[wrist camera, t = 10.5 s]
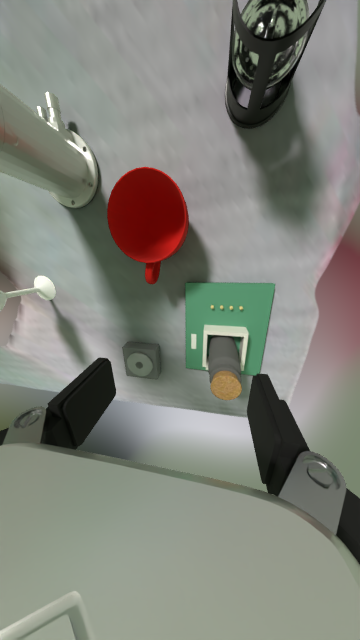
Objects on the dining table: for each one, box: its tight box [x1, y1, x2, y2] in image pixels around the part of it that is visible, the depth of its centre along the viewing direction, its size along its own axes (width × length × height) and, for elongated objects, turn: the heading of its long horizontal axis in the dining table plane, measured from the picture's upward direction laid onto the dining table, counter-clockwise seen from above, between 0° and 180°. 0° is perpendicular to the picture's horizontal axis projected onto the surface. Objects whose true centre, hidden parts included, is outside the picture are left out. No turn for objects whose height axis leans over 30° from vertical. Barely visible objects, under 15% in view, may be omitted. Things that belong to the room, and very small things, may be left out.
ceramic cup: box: [107, 167, 189, 284], centre depth 31 cm, size 13×17×10 cm
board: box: [185, 282, 275, 375], centre depth 38 cm, size 22×18×6 cm
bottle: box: [208, 335, 242, 400], centre depth 33 cm, size 6×6×15 cm
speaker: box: [122, 342, 161, 379], centre depth 46 cm, size 9×9×4 cm
